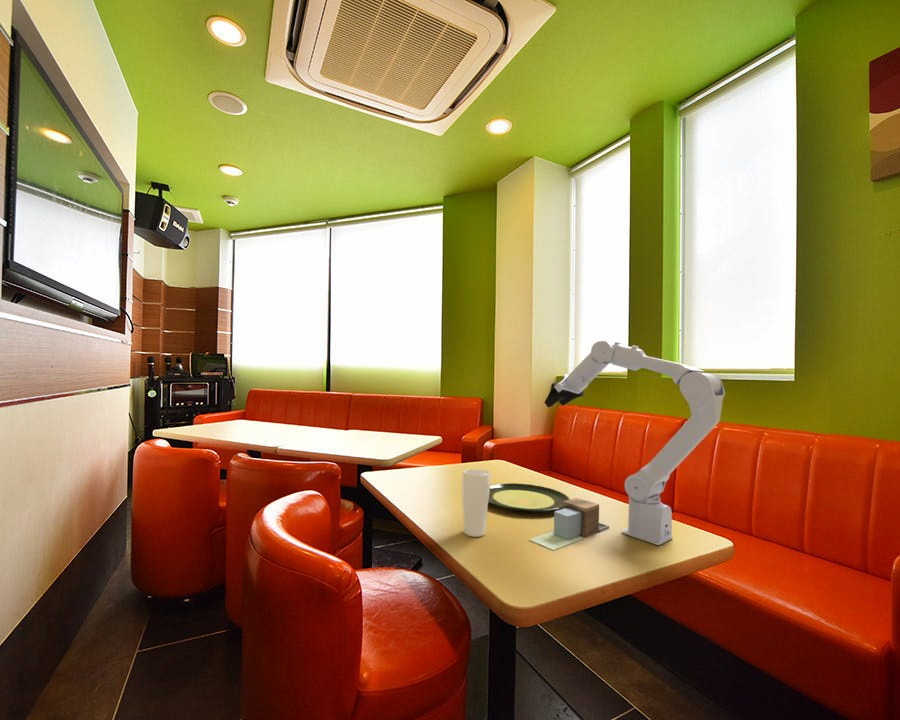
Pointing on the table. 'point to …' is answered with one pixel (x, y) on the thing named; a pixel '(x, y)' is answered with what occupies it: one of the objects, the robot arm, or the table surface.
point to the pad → (554, 540)
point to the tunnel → (586, 514)
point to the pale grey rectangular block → (568, 522)
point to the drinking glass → (475, 501)
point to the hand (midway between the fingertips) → (553, 404)
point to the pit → (603, 527)
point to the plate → (526, 497)
